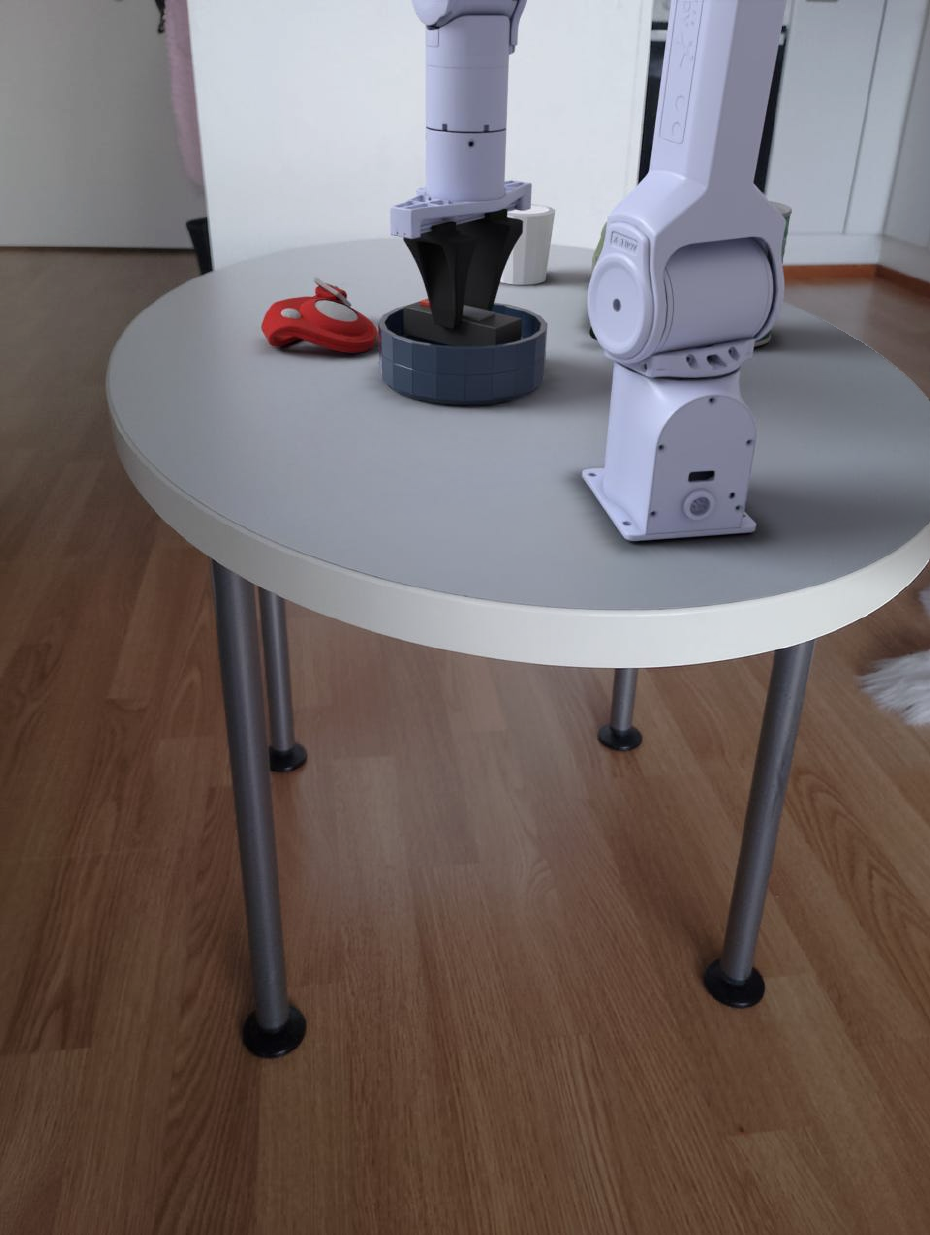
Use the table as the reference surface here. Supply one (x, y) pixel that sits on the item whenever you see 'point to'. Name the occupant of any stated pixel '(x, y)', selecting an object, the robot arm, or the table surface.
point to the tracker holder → (320, 321)
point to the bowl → (462, 363)
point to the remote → (462, 326)
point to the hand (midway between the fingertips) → (462, 320)
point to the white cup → (530, 246)
